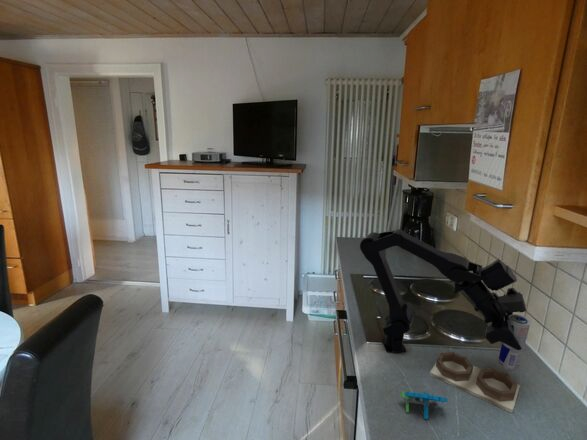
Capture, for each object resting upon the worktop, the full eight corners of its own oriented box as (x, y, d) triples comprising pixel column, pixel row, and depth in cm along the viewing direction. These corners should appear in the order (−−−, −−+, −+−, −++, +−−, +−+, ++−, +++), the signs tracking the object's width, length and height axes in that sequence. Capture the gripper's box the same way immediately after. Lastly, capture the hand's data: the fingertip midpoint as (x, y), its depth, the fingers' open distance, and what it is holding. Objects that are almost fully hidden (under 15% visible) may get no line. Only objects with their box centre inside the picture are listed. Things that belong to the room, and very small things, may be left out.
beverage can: (512, 359, 99) (523, 313, 95) (522, 372, 95) (534, 324, 90) (494, 358, 100) (504, 313, 95) (503, 370, 95) (514, 323, 90)
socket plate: (429, 374, 101) (430, 365, 100) (441, 355, 109) (443, 346, 108) (512, 413, 88) (514, 402, 87) (519, 388, 96) (521, 377, 95)
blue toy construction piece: (446, 397, 91) (447, 394, 83) (447, 422, 89) (448, 422, 81) (403, 390, 95) (399, 387, 87) (402, 414, 93) (398, 413, 85)
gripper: (510, 300, 84) (554, 353, 82) (508, 270, 99) (545, 315, 97) (468, 318, 90) (509, 368, 88) (473, 288, 105) (507, 330, 104)
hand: (519, 343), depth 94 cm, fingers closed on beverage can, 5 cm apart
